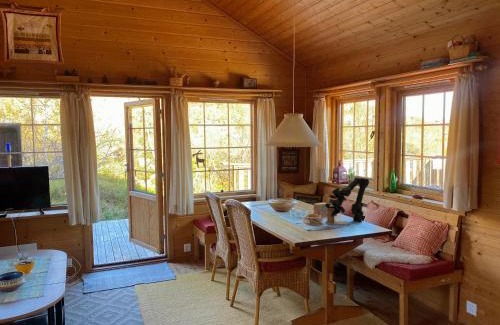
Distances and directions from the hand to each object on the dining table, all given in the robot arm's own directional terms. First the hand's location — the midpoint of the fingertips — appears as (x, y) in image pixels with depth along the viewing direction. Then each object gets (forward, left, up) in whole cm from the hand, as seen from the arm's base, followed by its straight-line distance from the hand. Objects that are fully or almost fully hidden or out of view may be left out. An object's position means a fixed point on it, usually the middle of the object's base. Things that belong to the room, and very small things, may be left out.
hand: (329, 215), depth 317 cm
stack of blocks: (-5, -40, -10) cm, 41 cm away
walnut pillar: (-1, -1, -7) cm, 7 cm away
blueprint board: (-9, -10, -9) cm, 17 cm away
